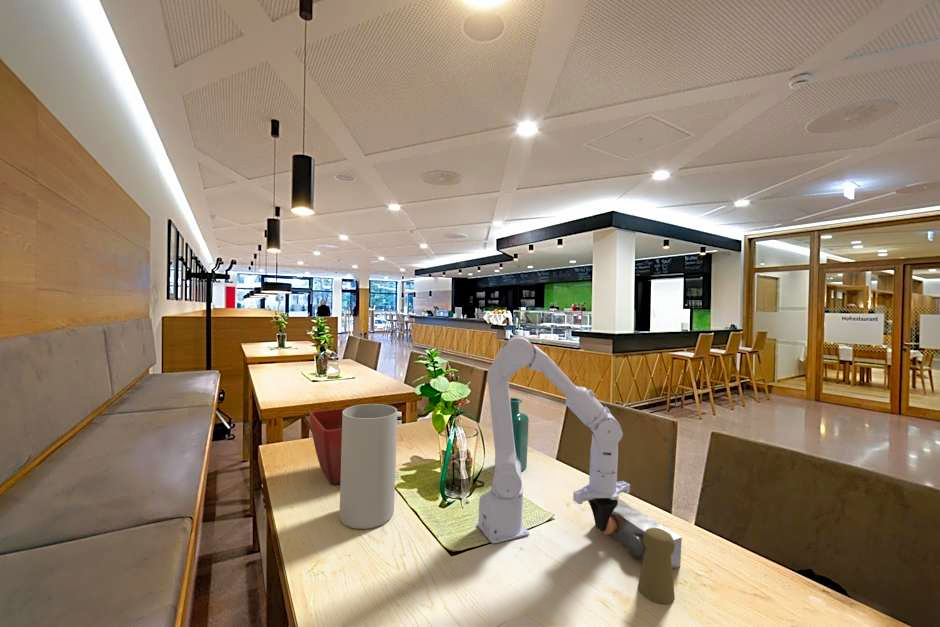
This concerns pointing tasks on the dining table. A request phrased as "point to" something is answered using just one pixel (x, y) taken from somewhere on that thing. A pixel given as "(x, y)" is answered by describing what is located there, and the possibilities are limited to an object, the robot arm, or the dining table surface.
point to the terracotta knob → (611, 526)
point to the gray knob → (635, 545)
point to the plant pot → (328, 441)
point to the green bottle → (520, 431)
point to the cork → (657, 567)
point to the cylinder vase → (368, 465)
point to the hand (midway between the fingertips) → (600, 528)
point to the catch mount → (640, 528)
